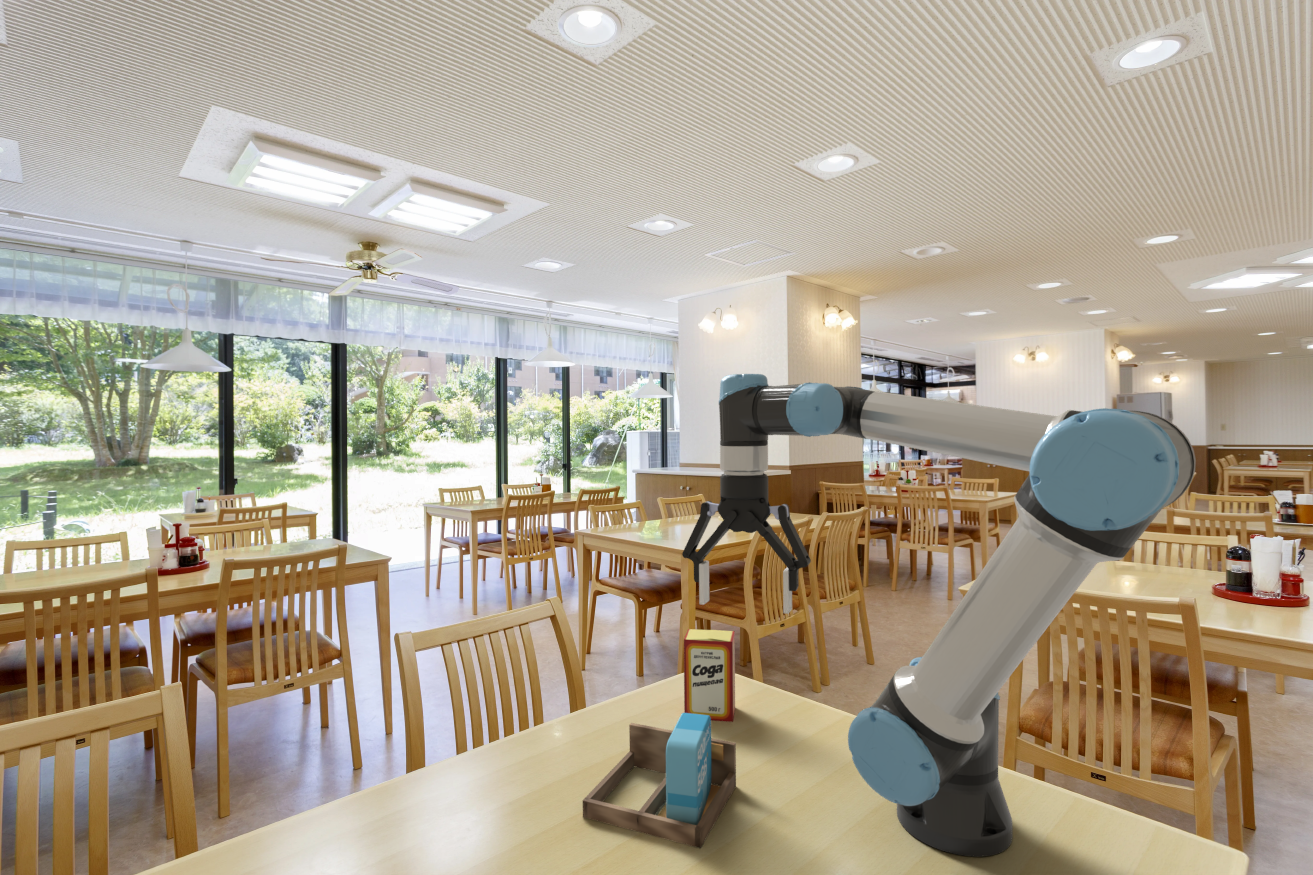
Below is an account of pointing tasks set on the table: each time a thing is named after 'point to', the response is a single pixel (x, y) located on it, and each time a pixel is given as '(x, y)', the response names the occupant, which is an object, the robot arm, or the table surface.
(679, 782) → the blue rounded block
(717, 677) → the baking soda box
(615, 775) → the rack
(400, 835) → the table surface
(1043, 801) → the table surface
